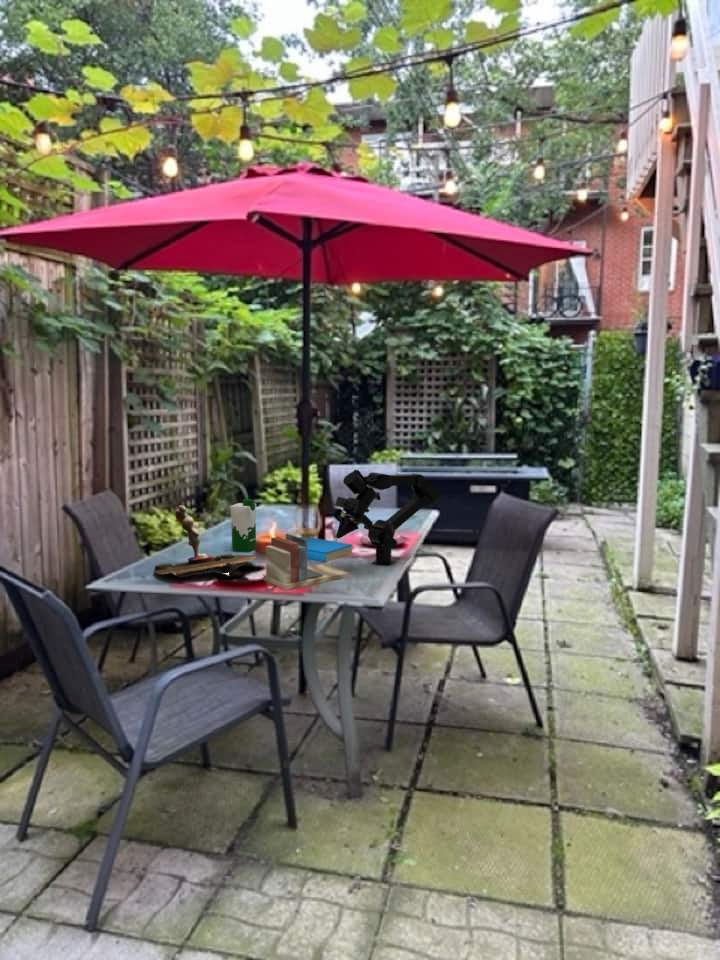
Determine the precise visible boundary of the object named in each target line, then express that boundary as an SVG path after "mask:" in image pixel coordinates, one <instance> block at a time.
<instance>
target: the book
mask: <svg viewBox="0 0 720 960" xmlns="http://www.w3.org/2000/svg"><path fill="white" fill-rule="evenodd" d="M299 537H300V538H303V539H306V540H307V560H314V561H320V562H324V563H325V562H326V563H327V562H330V561H332V560H335V559H339V558H342V557H345V556H348V555H351V554H353V544H352V543H347V542H342V541H341V542H340V541H334V540H328V539H322V538H316V537H309V536H299Z"/></svg>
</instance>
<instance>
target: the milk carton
mask: <svg viewBox="0 0 720 960" xmlns="http://www.w3.org/2000/svg"><path fill="white" fill-rule="evenodd" d="M229 509H230V517H231V522H230V523H231V524H230V525H231V550H232V552H239V553H250V552H252V551H254V550H256V549H257V545H256V546H255V542H256V543H257V527H256V526H257V524H256V523H257V521H256V512H257V503H254V499H252V498H246V499H245V498H244V499H242V502H237V503H236V504H233V505H229Z"/></svg>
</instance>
